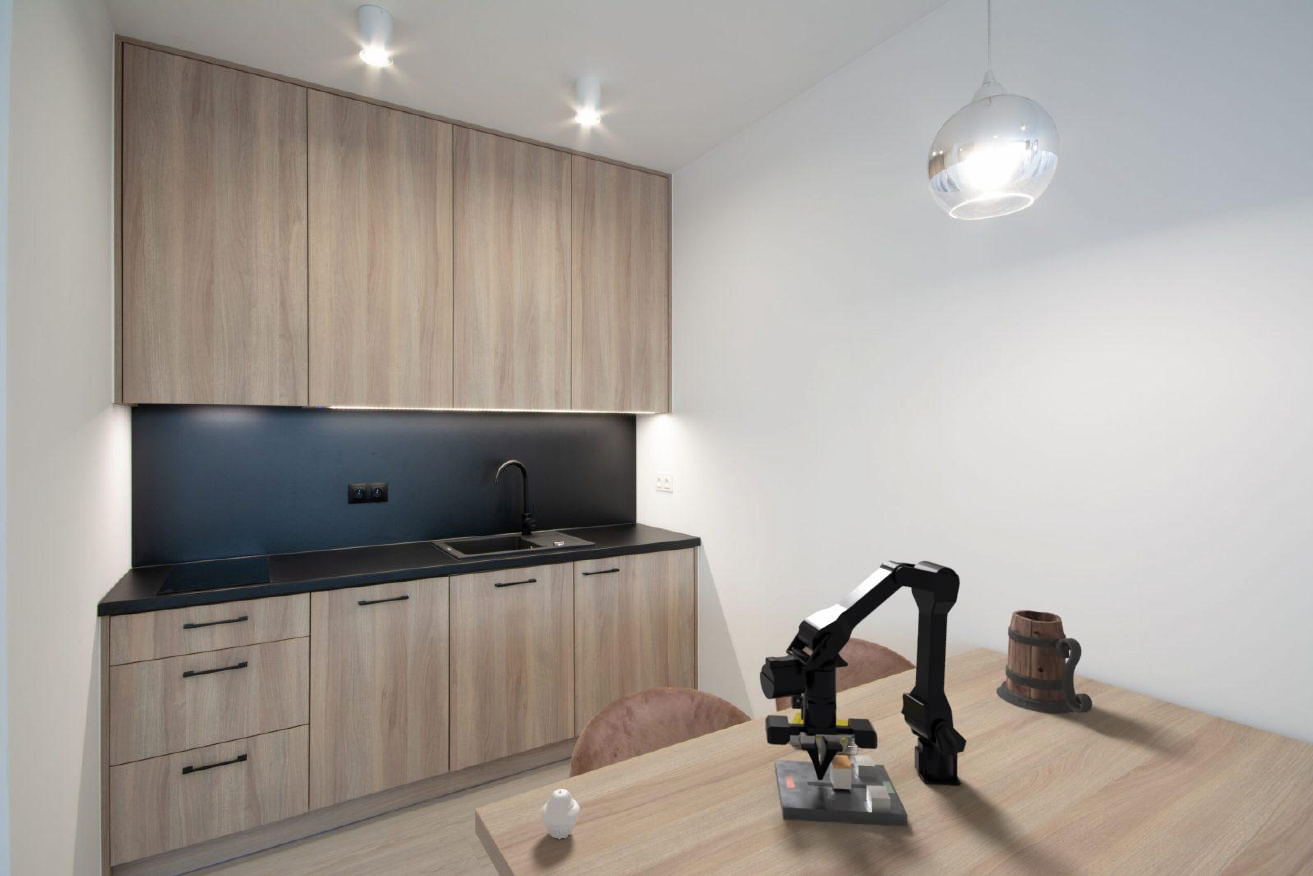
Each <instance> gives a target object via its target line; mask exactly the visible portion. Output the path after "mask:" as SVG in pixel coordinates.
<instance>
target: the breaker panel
mask: <svg viewBox="0 0 1313 876" xmlns="http://www.w3.org/2000/svg"><path fill="white" fill-rule="evenodd" d="M850 764H851V789H838V788H833V785H832V782H831V778H830V765H829V767H828V769H827V771H826V773H825V776H824V778H823V780H818V778H817V775H816V772H815V769H814V765H813V762H812V761H805V760H784V759H781V760H780V759H775V760H774V772H775V779H776V785H777V790H778V797H779V802H780V809H781V816H782V820H791V821H792V820H793V821H813V822H825V823H826V822H830V823H847V824H860V825H861V824H865V825H882V826H897V827H899V826H900V827H908V813H907V811H906V808H905V807H904V806H905V805H904V804H903V802H902V800H901V798H900V796H899V794H898V792H897V790H896V788H895V786H894V784H893V781H892V779H891V777H890V776H889V774H888V772H887V770H886V767H885V766H884V764H875V762H874V759H873V758H872V756H871V755H862V754H856V755H853V763H850Z"/></svg>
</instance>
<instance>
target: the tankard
mask: <svg viewBox="0 0 1313 876" xmlns="http://www.w3.org/2000/svg"><path fill="white" fill-rule="evenodd" d="M1062 621H1063V620H1062V618H1061V616H1059V615H1058V614H1055V613H1052V612H1048V611H1047V612H1046V611H1037V610H1036V611H1035V610H1032V609H1031V610H1030V609H1029V610H1028V609H1024V610H1015V611H1014V612H1012V615H1011V619H1010V624H1009V626H1008V627H1007V635H1008V647H1007V648H1008V649H1007V664H1006V665H1005V675H1006V680H1005V681H1003V682H1002V683H1001V685H1000V686H998V687H997V688H996V691H997V692H996V691H995V693H996V695H997V696H998V697H999V698H1001V700H1003V701H1004V700H1005V701H1004V702H1006V703H1008V704H1010V705H1012V706H1015V707H1017V708H1020V709H1023V710H1029V711H1032V712H1036V713H1041V714H1050V715H1051V714H1053V715H1065V714H1066V715H1067V714H1071V713H1078V714H1081V713H1088V712H1090V711H1091V710H1092V708H1093V700H1092V698H1091V697H1090V695H1088V694H1087V693H1076V691H1075V690H1076V689H1075V684H1074V682H1075V681H1074V678H1075V677H1074V674H1075V670H1076V667H1077V665H1078V664H1079V662H1080V660H1081V657H1082V647H1081V643H1079V641H1078V640H1077V639H1076V638H1073V637H1067V635H1066V633H1065V630H1064V627H1063V626H1064V625H1063V622H1062Z"/></svg>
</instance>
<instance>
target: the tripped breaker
mask: <svg viewBox="0 0 1313 876" xmlns="http://www.w3.org/2000/svg"><path fill="white" fill-rule="evenodd" d="M851 764H852V763H851V762H850V760H849V757H848V755H846V754H844V755H843V754H842V755H839V754H836V755H835V757H834V758H833V760H832V761H831V763H830V778H831V782H832V785H833V788H838V789H851Z"/></svg>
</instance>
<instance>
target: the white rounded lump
mask: <svg viewBox="0 0 1313 876" xmlns="http://www.w3.org/2000/svg"><path fill="white" fill-rule="evenodd" d="M548 798H549V799H548V801H547V802H546V803H545V804H544V805H543V806H542V809H541V813H540V815H541V820H542V823H543V825H544V827H545V829H546V830H547V832H548V834H549V835H550V836H552V837H554V838H558V839H559V838H564V839H566V838H568V837H569V836H570V835H571V833H572V832H573V829H574V828H575V826H576V823H577V821H578V820H579V819H578V818H579V815H580V811H581V808H580V804H579V803H578V802H577V800H575V799H574V798H573V797H572V794H571V792H570V790H567V789H564V788H561V789H560V788H558V789H555V790H553V791H552V793H551V794H550V795H549V797H548ZM568 835H569V836H568ZM552 837H551V838H552ZM554 838H553V839H554ZM558 839H557V840H558ZM559 840H560V839H559Z"/></svg>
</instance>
